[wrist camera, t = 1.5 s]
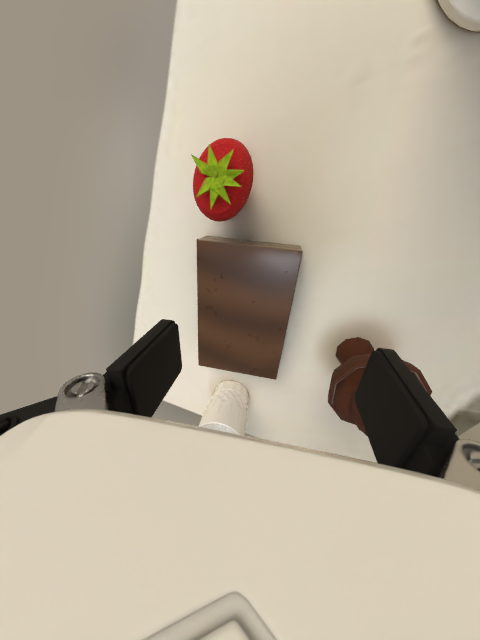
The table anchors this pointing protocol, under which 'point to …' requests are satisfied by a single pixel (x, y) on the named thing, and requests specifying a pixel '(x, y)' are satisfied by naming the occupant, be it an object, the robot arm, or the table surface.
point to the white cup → (227, 409)
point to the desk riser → (244, 303)
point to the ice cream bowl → (355, 379)
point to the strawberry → (222, 179)
